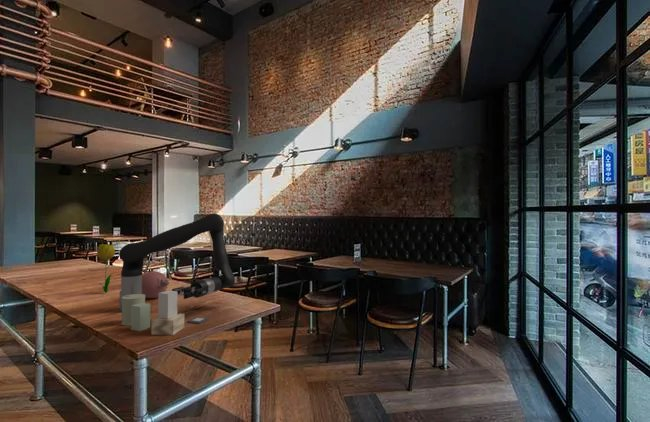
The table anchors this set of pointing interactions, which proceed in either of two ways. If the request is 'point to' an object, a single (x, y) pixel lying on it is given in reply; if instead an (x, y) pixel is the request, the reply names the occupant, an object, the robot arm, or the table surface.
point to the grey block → (167, 304)
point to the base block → (167, 325)
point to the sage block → (140, 316)
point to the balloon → (153, 284)
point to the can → (126, 306)
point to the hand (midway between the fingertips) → (176, 295)
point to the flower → (106, 254)
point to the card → (198, 320)
